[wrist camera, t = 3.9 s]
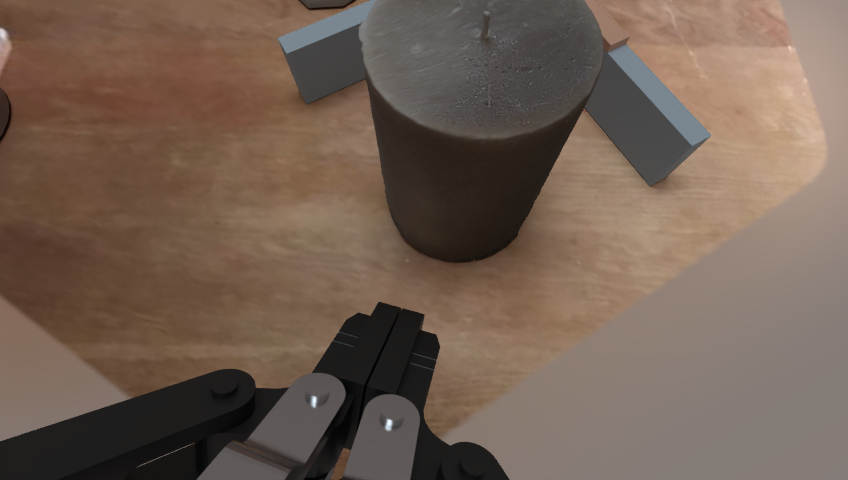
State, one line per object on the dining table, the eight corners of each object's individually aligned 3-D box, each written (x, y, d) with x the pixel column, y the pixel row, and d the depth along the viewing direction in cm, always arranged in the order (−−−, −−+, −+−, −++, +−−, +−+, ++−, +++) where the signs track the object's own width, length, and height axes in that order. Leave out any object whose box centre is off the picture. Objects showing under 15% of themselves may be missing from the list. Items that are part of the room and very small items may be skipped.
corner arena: (423, 312, 27) (423, 290, 21) (298, 90, 33) (274, 30, 27) (666, 176, 30) (718, 129, 25) (512, -3, 36) (527, -72, 31)
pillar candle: (536, 260, 28) (651, 112, 14) (386, 265, 28) (349, 121, 14) (518, 134, 31) (595, -85, 17) (385, 138, 31) (355, -80, 17)
